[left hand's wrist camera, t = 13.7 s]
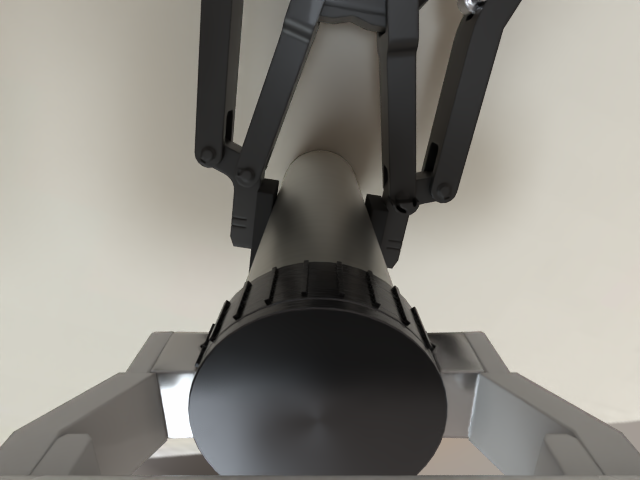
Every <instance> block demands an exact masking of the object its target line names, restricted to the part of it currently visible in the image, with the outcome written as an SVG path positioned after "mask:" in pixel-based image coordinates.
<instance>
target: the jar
mask: <svg viewBox="0 0 640 480" xmlns="http://www.w3.org/2000/svg"><path fill="white" fill-rule="evenodd" d="M304 260H309V262H333V263H337V261H340V262H342V264H345V265H349V266H352V267H356V268H359V269H362V270H364V271H368V270H370V271H372V272H373V275H375V276H377V277H379V278H380V279H382V280H384V281H385V282H387V283H388V284H389V285H391V286H392V287H393V284H392V281H391V278H390V275H389V272H388V270H387V267H386V264H385V261H384V258H383V255H382V252H381V249H380V246H379V243H378V241H377V238H376V235H375V232H374V229H373V226H372V223H371V220H370V217H369V214H368V212H367V209H366V206H365V203H364V200H363V197H362V194H361V191H360V188H359V185H358V183H357V180H356V177H355V174H354V171H353V169H352V168H351V166H350V165H349V163H348V162H347V161H346V160H345V159H343V158H342V157H341V156H339V155H337V154H335V153H333V152H330V151H324V150H316V151H311V152H307V153H305V154H303V155H301V156H299V157H298V158H297V159H296V160H294V161H293V162H292V164H291V165H290V166H289V168H288V170H287V172H286V174H285V177H284V180H283V182H282V185H281V188H280V190H279V193H278V196H277V199H276V201H275V204H274V207H273V209H272V212H271V215H270V218H269V220H268V223H267V226H266V228H265V231H264V234H263V237H262V239H261V242H260V245H259V247H258V250H257V253H256V256H255V258H254V261H253V264H252V266H251V269H250V272H249V275H248V277H247V280H246V282H247V281H248V280H249V282H251V281H253V280H254V279H256V278H257V277H259V276H261V275H263V274H265V273H267V272H269V271H272V268H273V267H277V268H280V267H283V266H287V265H292V264H297V263H304Z"/></svg>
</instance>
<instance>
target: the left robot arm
mask: <svg viewBox="0 0 640 480" xmlns="http://www.w3.org/2000/svg"><path fill="white" fill-rule="evenodd" d="M208 333H209V332H173V331H170V332H154V333H152V334H151V335H150V336H149V338H148V339H147V341H146V342H145V344H144V345H143V347H142V348H141V350H140V351H139V353H138V354H137V356H136V357H135V359H134V360H133V362H132V363H131V365H130V366H129V368H128V369H127V371H126V372H125V373H117V374H116V375H114V376H112V377H110V378H108V379H107V380H105V381H103V382H101V383H100V384H98V385H96V386H94V387H92V388H91V389H89V390H87V391H85V392H84V393H82V394H80V395H78V396H76V397H75V398H73V399H71V400H69V401H68V402H66V403H64V404H62V405H60V406H59V407H57V408H55V409H53V410H52V411H50V412H48V413H46V414H44V415H43V416H41V417H39V418H37V419H36V420H34V421H32V422H30V423H28V424H27V425H25V426H23V427H21V428H20V429H18V430H16V431H14V432H13V433H12V434H11V435H10V437H9V438H8V439H7V440H6V441H5V442H4V443H3V445H2V446H1V447H0V480H640V453H639V452H638V451H637V450H636V449H635V447H634V446H633V445H632V444H631V443H630V441H629V440H628V439H627V438H626V437H625V436H624V434H623V433H622V432H620V431H618V430H617V429H615V428H613V427H611V426H610V425H608V424H606V423H604V422H603V421H601V420H599V419H597V418H596V417H594V416H592V415H590V414H589V413H587V412H585V411H583V410H582V409H580V408H578V407H576V406H575V405H573V404H571V403H569V402H568V401H566V400H564V399H562V398H560V397H559V396H557V395H555V394H553V393H552V392H550V391H548V390H546V389H545V388H543V387H541V386H539V385H538V384H536V383H534V382H532V381H531V380H529V379H527V378H525V377H524V376H522V375H520V374H518V373H510V371H509V370H508V368H507V367H506V365H505V364H504V362H503V361H502V359H501V357H500V356H499V354H498V353H497V351H496V350H495V348H494V347H493V345H492V344H491V342H490V341H489V339H488V338H487V336H486V335H485V333H483V332H481V331H474V332H448V333H427V336H428V338H429V341H430V343H431V344H432V346H433V349H434V350H433V351H432V355H433V357H434V360H435V362H436V365H437V367H438V370H439V372H440V375H441V377H442V380H443V383H444V386H445V389H446V395H447V402H448V413H447V422H446V427H445V432H444V434H443V437H442V438H469V441H470V442H471V443H472V444H473V445H474V446H475V447H476V448H477V449H478V450H480V451H481V452H482V453H483V454H484V455H485V456H486V457H487V458H488V459H489V460H490V461H491V462H492V463H493V464H494V465H495V466H496V467H497V468H498V469H499V470H500V471H501V472H502V473H503V474H504V475H132V474H133V473H134V472H135V471H136V470H137V469H138V468H139V467H140V466H141V465H142V464H143V463H144V462H145V461H146V460H147V459H148V458H149V457H150V456H151V455H152V454H154V453H155V452H156V451H157V450H158V449H159V448H160V447H161V446H162V445H163V444H164V443H165V442H166V441H167V438H193V435H192V431H191V428H190V424H189V416H188V399H189V392H190V388H191V384H192V381H193V378H194V376H195V374H196V371H197V369H198V368H197V367H194V366H195V363H196V361H197V358H198V356H199V354H200V352H201V349H202V347H203V345H204V343H205V340H206V338H207V336H208Z"/></svg>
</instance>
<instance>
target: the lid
mask: <svg viewBox="0 0 640 480" xmlns="http://www.w3.org/2000/svg"><path fill="white" fill-rule="evenodd" d="M433 350H434V349H433V346H432V344H431V343H430V341H429V338H428V336H427V332H426V331H425V329H424V326H423V324H422V321H421V319H420V316H419V314H418V312H417V309H416V308H415V307H413V308H411V306H410V305H409V303H408V302H407V301H406V299H405V298H404V297H403V296H402V295H401V294H400V292H399V289H398V288H397V287H396V286H394V287H392V286H391V285H389V284H388V283H387V282H385V281H384V280H382V279H380V278H379V277H377V276H375V275H373V272H372V271H370V270H368V271H364V270H362V269H359V268H356V267H352V266H349V265H345V264H342V262H340V261H337V263H333V262H309V260H304V263H297V264H292V265H287V266H283V267H280V268H277V267H273V268H272V271H269V272H267V273H265V274H263V275H261V276H259V277H257V278H256V279H254V280H253V281H251V282H249V280H248V281H247V282H245V284H244V287H243V288H242V289H241V290H240V291H239V292H237V293H236V294H235V295H234V297H233V298H232V299H231V300H230V301H227V300H226V301H225V303H224V305H223V307H222V309H221V312H220V314H219V316H218V319H217V321H216V323H215V324H212V327H211V329H210V331H209V333H208V336H207V338H206V340H205V343H204V345H203V347H202V349H201V352H200V354H199V356H198V358H197V361H196V363H195V366H194V367H197V368H198V369H197V371H196V374H195V376H194V378H193V381H192V384H191V388H190V392H189V399H188V416H189V424H190V428H191V431H192V435H193V438H194V440H195V442H196V444H197V447H198V449H199V450H200V452H201V453H202V455H203V457H204V458H205V460H206V461H207V462H208V463H209V464H210V466H211V467H212V468H213V469H214V470H215V471H216V472H217V473H218V474H219V475H417V474H418V473H419V472H420V471H421V470H422V469H423V468H424V467H425V466H426V465H427V463H428V462H429V461H430V460H431V458H432V457H433V456H434V454H435V452H436V450H437V448H438V446H439V445H440V443H441V440H442V437H443V434H444V432H445V427H446V422H447V413H448V402H447V395H446V389H445V386H444V383H443V380H442V377H441V375H440V372H439V370H438V367H437V365H436V362H435V360H434V357H433V355H432V351H433Z"/></svg>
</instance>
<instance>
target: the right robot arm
mask: <svg viewBox="0 0 640 480" xmlns="http://www.w3.org/2000/svg"><path fill="white" fill-rule="evenodd" d="M427 1H428V0H291V1H290V4H289V7H288V10H287V13H286V16H285V19H284V23H283V28H282V32H281V35H280V38H279V41H278V44H277V47H276V50H275V53H274V56H273V59H272V61H271V64H270V67H269V70H268V73H267V76H266V79H265V82H264V85H263V88H262V91H261V94H260V97H259V100H258V103H257V105H256V108H255V111H254V114H253V117H252V120H251V123H250V126H249V129H248V132H247V135H246V138H245V141H244V144H243V147H241V146H239V145H237V144H236V143H234V142H233V132H234V119H235V106H236V93H237V79H238V66H239V53H240V40H241V27H242V13H243V0H201V20H200V43H199V66H198V89H197V112H196V135H195V158H196V159H197V161H198V163H200V164H201V165H202V166H204V167H207V168H211V167H212V168H214V169H216V170H218V171H220V172H222V173H224V174H225V175H227V176H228V177H229V178H230V179H231V181H232V182H233V185H234V199H233V211H232V223H231V224H232V225H231V235H230V237H231V240H232V243H233V246H236V247H243V248H250V249H251V258H250V267H249V272H250V269H251V266H252V264H253V261H254V258H255V256H256V253H257V250H258V247H259V245H260V242H261V239H262V237H263V234H264V231H265V228H266V226H267V223H268V220H269V218H270V215H271V212H272V209H273V207H274V204H275V201H276V199H277V194H278V185H279V181H278V180H272V179H264V176H265V170H266V168H267V167H268V166H267V165H268V162H269V160H270V157H271V154H272V151H273V149H274V146H275V143H276V141H277V138H278V135H279V132H280V130H281V127H282V124H283V122H284V119H285V116H286V113H287V111H288V108H289V105H290V103H291V100H292V97H293V94H294V92H295V89H296V86H297V84H298V81H299V78H300V75H301V73H302V70H303V67H304V64H305V62H306V59H307V56H308V54H309V51H310V48H311V46H312V43H313V41H314V39H315V36H316V33H317V30H318V28H319V25H320V22H324V23H330V24H336V23H344V22H352V23H354V24H356V25H358V26H360V27H362V28H364V29H366V30H370V31H376V32H377V48H378V55H379V72H380V106H381V140H382V173H383V189H384V191H383V196H382V197H381V196H377V195H371V194H367V196H366V201H365V206H366V209H367V212H368V214H369V217H370V220H371V223H372V226H373V229H374V232H375V235H376V238H377V241H378V243H379V246H380V249H381V252H382V255H383V258H384V261H385V264H386V267H387V268H393V267H394V265H395V264H396V262H397V261H398V259H399V255H400V249H401V246H402V241H403V238H404V234H405V230H406V226H407V222H408V218H409V215H411V214H413V213H414V212H415V211H416V210H417V209H418V207H419V205H420V204H424V203H429V202H434V201H437V202H439V203H447V202H449V201H451V200H452V199H453V198H454V197H455V195H456V193H457V190H458V187H459V183H460V180H461V176H462V173H463V169H464V166H465V162H466V159H467V155H468V152H469V148H470V144H471V141H472V137H473V134H474V130H475V127H476V123H477V120H478V116H479V113H480V109H481V106H482V102H483V99H484V95H485V92H486V88H487V85H488V81H489V78H490V74H491V71H492V67H493V64H494V60H495V57H496V53H497V50H498V46H499V42H500V39H501V35H502V32H503V29H504V27H505V26H506V24H507V22H508V21H509V19H510V18H511V16H512V15H513V13H514V12H515V10H516V8H517V7H518V5H519V4H520V2H521V1H522V0H457V5H458V8H459V10H460V12H461V13H462V14H464V16H463V18H462V20H461V22H460V24H459V27H458V29H457V32H456V35H455V38H454V42H453V46H452V50H451V54H450V58H449V62H448V66H447V70H446V74H445V78H444V82H443V86H442V90H441V94H440V98H439V102H438V106H437V110H436V114H435V118H434V122H433V126H432V130H431V134H430V138H429V142H428V146H427V150H426V155H425V159H424V163H423V167H422V171H421V172H417V173H416V51H417V47H418V41H419V10H420V9H421V7H422V6H423V5H424V4H425V3H426V2H427Z"/></svg>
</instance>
